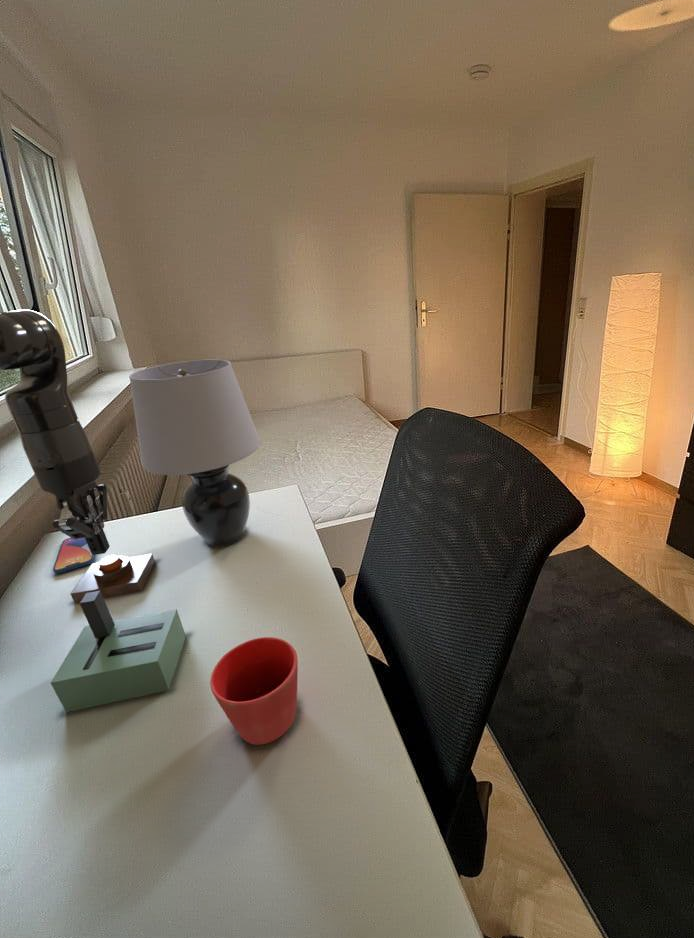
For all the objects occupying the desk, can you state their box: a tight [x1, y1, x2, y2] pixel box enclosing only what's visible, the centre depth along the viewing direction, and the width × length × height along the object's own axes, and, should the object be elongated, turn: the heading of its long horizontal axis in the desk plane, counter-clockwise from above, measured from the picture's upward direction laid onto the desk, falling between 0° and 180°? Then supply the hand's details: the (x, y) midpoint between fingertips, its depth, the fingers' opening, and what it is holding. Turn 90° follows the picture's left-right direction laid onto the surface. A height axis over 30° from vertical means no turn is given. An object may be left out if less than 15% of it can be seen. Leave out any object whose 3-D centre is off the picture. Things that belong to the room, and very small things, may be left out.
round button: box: [98, 554, 122, 572], centre depth 90 cm, size 4×4×2 cm
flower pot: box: [209, 636, 299, 746], centre depth 59 cm, size 11×11×10 cm
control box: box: [70, 553, 156, 603], centre depth 91 cm, size 12×10×4 cm
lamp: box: [128, 358, 261, 547], centre depth 97 cm, size 24×24×40 cm
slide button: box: [79, 591, 115, 638], centre depth 68 cm, size 2×2×7 cm
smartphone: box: [52, 537, 96, 574], centre depth 102 cm, size 7×15×1 cm, turn 29°
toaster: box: [50, 609, 187, 713], centre depth 69 cm, size 14×11×6 cm
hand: (101, 551), depth 72 cm, fingers closed
